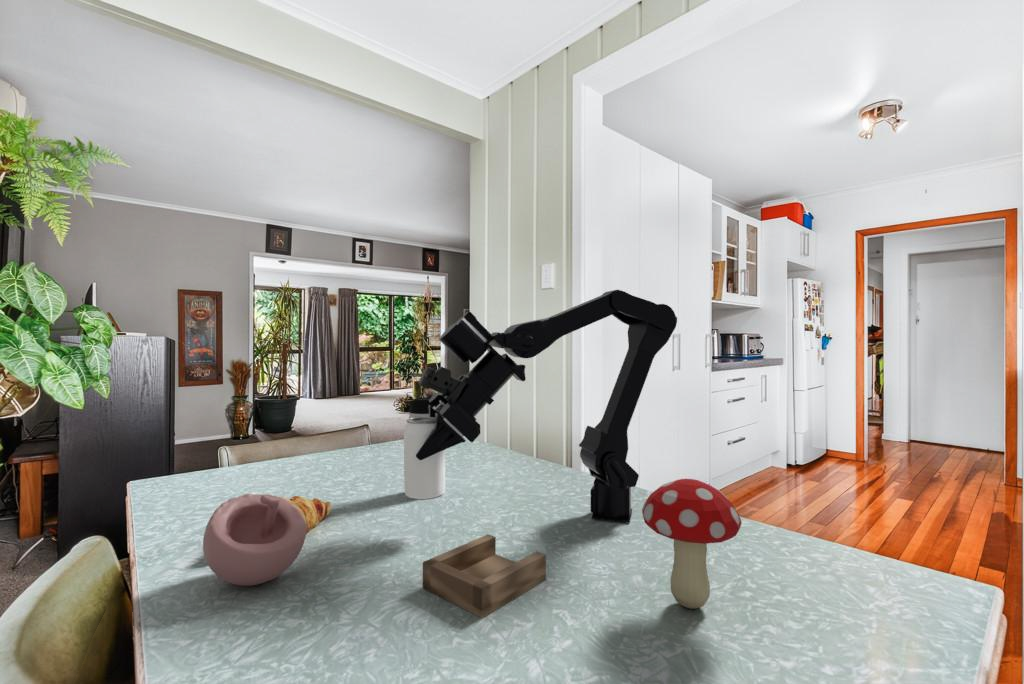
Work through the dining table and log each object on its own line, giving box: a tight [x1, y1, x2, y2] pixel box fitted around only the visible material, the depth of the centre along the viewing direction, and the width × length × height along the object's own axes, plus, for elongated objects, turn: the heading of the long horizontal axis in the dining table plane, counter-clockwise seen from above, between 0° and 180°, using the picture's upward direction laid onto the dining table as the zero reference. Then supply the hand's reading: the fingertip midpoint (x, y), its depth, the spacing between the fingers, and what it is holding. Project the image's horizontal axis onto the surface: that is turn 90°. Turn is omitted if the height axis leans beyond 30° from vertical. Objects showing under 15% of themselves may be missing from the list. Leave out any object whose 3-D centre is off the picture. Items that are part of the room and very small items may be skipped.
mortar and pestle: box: [202, 493, 307, 587], centre depth 66 cm, size 12×12×12 cm
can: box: [403, 417, 446, 501], centre depth 81 cm, size 6×6×12 cm
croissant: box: [279, 495, 332, 534], centre depth 81 cm, size 21×10×8 cm, turn 155°
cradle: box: [422, 534, 547, 619], centre depth 65 cm, size 12×10×3 cm
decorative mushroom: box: [641, 478, 743, 610], centre depth 59 cm, size 11×11×15 cm
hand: (416, 453), depth 80 cm, fingers closed on can, 6 cm apart
